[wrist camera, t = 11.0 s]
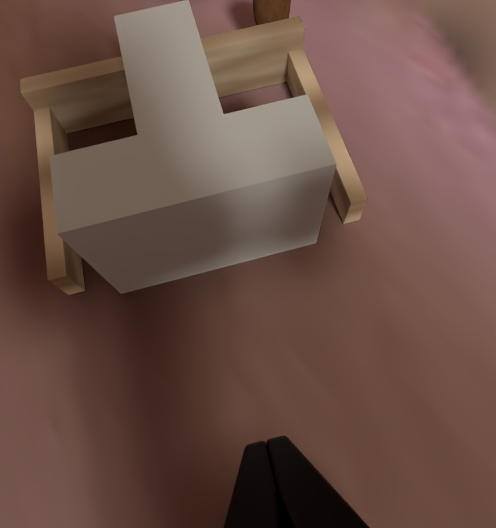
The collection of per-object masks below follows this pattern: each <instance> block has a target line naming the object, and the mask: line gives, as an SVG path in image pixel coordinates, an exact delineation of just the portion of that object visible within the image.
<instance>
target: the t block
mask: <svg viewBox="0 0 496 528" xmlns="http://www.w3.org/2000/svg"><path fill="white" fill-rule="evenodd" d="M114 19H115V24H116V30H117V35H118V40H119V45H120V50H121V55H122V60H123V65H124V70H125V75H126V80H127V85H128V90H129V95H130V100H131V105H132V110H133V115H134V120H135V125H136V130H137V135H135V136H131V137H127V138H123V139H119V140H114V141H110V142H106V143H102V144H98V145H93V146H89V147H85V148H81V149H77V150H73V151H68V152H64V153H60V154H56V155H52V156H49V157H50V167H51V178H52V188H53V199H54V209H55V220H56V230H57V234H58V235H59V236H60V237H61V238H62V239H63V240H64V241H65V242H66V243H67V244H68V245H69V246H70V247H71V248H73V249H74V250H75V251H76V252H77V253H78V254H79V255H80V256H81V257H82V258H83V259H84V260H85V261H86V262H87V263H88V264H90V265H91V266H92V267H93V268H94V269H95V270H96V271H97V272H98V273H99V274H100V275H101V276H102V277H103V278H104V279H105V280H107V281H108V282H109V283H110V284H111V285H112V286H113V287H114V288H115V289H116V290H117V291H118V292H119V293H120V294H123V293H127V292H131V291H135V290H138V289H142V288H146V287H150V286H154V285H158V284H161V283H165V282H169V281H173V280H177V279H181V278H184V277H188V276H192V275H196V274H200V273H204V272H207V271H211V270H215V269H219V268H223V267H227V266H230V265H234V264H238V263H242V262H246V261H250V260H253V259H257V258H261V257H265V256H269V255H273V254H276V253H280V252H284V251H288V250H292V249H296V248H300V247H303V246H307V245H311V244H315V243H316V242H317V239H318V235H319V231H320V227H321V223H322V219H323V215H324V211H325V207H326V203H327V199H328V195H329V192H330V188H331V184H332V180H333V176H334V172H335V168H336V164H337V163H336V161H335V159H334V156H333V154H332V151H331V149H330V147H329V144H328V142H327V139H326V137H325V135H324V132H323V130H322V127H321V125H320V123H319V120H318V118H317V115H316V113H315V111H314V108H313V106H312V103H311V101H310V99H309V96H308V94H307V95H302V96H298V97H294V98H290V99H286V100H281V101H277V102H273V103H269V104H265V105H261V106H256V107H252V108H248V109H244V110H240V111H236V112H231V113H227V114H223V111H222V107H221V104H220V101H219V98H218V94H217V91H216V88H215V85H214V81H213V78H212V75H211V72H210V68H209V65H208V62H207V59H206V55H205V52H204V49H203V46H202V42H201V39H200V36H199V33H198V29H197V26H196V23H195V20H194V16H193V13H192V10H191V7H190V3H189V0H185V1H180V2H176V3H171V4H167V5H162V6H158V7H153V8H149V9H144V10H140V11H135V12H131V13H126V14H122V15H117V16H114Z"/></svg>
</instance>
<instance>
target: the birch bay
mask: <svg viewBox="0 0 496 528" xmlns="http://www.w3.org/2000/svg"><path fill="white" fill-rule="evenodd" d="M304 31H305V28H304V26H303V24H302V21H301V19H300V17H299V16H296V17H292V18H288V19H283V20H279V21H274V22H270V23H266V24H261V25H257V26H252V27H248V28H243V29H239V30H235V31H230V32H226V33H221V34H217V35H213V36H208V37H204V38H200V39H201V42H202V46H203V49H204V52H205V55H206V59H207V62H208V65H209V68H210V72H211V75H212V78H213V81H214V85H215V88H216V91H217V94H218V98H219V97H224V96H228V95H232V94H236V93H241V92H245V91H249V90H253V89H258V88H262V87H266V86H270V85H275V84H279V83H283V82H287V83H288V86H289V88H290V91H291V93H292V96H293V98H294V97H298V96H302V95H307V94H308V96H309V99H310V101H311V103H312V106H313V108H314V111H315V113H316V115H317V118H318V120H319V123H320V125H321V127H322V130H323V132H324V135H325V137H326V139H327V142H328V144H329V147H330V149H331V151H332V154H333V156H334V159H335V161H336V163H337V164H336V168H335V172H334V176H333V180H332V184H331V188H330V192H331V194H332V197H333V199H334V202H335V204H336V207H337V209H338V212H339V214H340V217H341V219H342V222H343V224H346V223H350V222H353V221H357V220H359V219H360V217H361V214H362V212H363V210H364V207H365V205H366V203H367V200H368V197H367V195H366V193H365V191H364V188H363V186H362V184H361V181H360V179H359V177H358V174H357V172H356V170H355V168H354V165H353V163H352V161H351V158H350V156H349V154H348V151H347V149H346V147H345V145H344V142H343V140H342V138H341V135H340V133H339V131H338V129H337V126H336V124H335V122H334V119H333V117H332V115H331V112H330V110H329V108H328V106H327V103H326V101H325V99H324V96H323V94H322V92H321V89H320V87H319V85H318V83H317V80H316V78H315V76H314V73H313V71H312V69H311V66H310V64H309V62H308V60H307V57H306V55H305V53H304V50H303V42H304ZM20 85H21V94H22V95H23V97H24V98H25V100H26V101H27V102H28V104H29V105H30V106H31V108H32V109H33V111H34V118H35V131H36V143H37V155H38V168H39V180H40V192H41V205H42V217H43V229H44V241H45V254H46V266H47V278H48V281H49V282H50V283H52V284H53V285H55V286H56V287H58V288H59V289H60V290H62V291H63V292H65V293H66V294H68V295H71V294H75V293H78V292H82V291H85V284H84V276H83V267H82V259H81V256H80V255H79V254H78V253H77V252H76V251H75V250H74V249H73V248H71V247H70V246H69V245H68V244H67V243H66V242H65V241H64V240H63V239H62V238H61V237H60V236H59V235H58V234H57V230H56V220H55V209H54V199H53V188H52V178H51V167H50V157H49V156H52V155H56V154H60V153H64V152H68V151H69V148H68V140H67V133H71V132H75V131H79V130H84V129H88V128H92V127H96V126H101V125H105V124H109V123H113V122H118V121H122V120H126V119H130V118H134V115H133V110H132V105H131V100H130V95H129V90H128V85H127V80H126V75H125V70H124V65H123V60H122V56H120V57H116V58H111V59H107V60H102V61H98V62H93V63H89V64H85V65H80V66H76V67H71V68H67V69H63V70H58V71H54V72H49V73H45V74H41V75H36V76H32V77H27V78H23V79H20Z"/></svg>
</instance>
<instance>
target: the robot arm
mask: <svg viewBox="0 0 496 528" xmlns="http://www.w3.org/2000/svg"><path fill="white" fill-rule="evenodd" d="M266 444H267V445H266ZM269 457H270V458H269ZM285 526H286V527H285ZM223 528H370V527H369V526H368V525H367V524H366V523H365V522H364V521H363V520H362V519H361V518H360V516H359V515H358V514H357V513H356V512H355V511H354V510H353V509H352V508H351V507H350V505H349V504H348V503H347V502H346V501H345V500H344V499H343V498H342V497H341V496H340V495H339V493H338V492H337V491H336V490H335V489H334V488H333V487H332V486H331V485H330V484H329V482H328V481H327V480H326V479H325V478H324V477H323V476H322V475H321V474H320V473H319V471H318V470H317V469H316V468H315V467H314V466H313V465H312V464H311V463H310V462H309V461H308V459H307V458H306V457H305V456H304V455H303V454H302V453H301V452H300V451H299V450H298V448H297V447H296V446H295V445H294V444H293V443H292V442H291V441H290V440H289V439H288V438H287V437H286V436H280V437H276V438H272V439H269V440H267V442H266V443H265V442H264V441H260V442H256V443H252V444H248V445H247V446H246V447H245V449H244V453H243V457H242V460H241V464H240V468H239V471H238V475H237V479H236V483H235V486H234V490H233V494H232V498H231V501H230V505H229V509H228V512H227V516H226V520H225V524H224V527H223Z"/></svg>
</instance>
